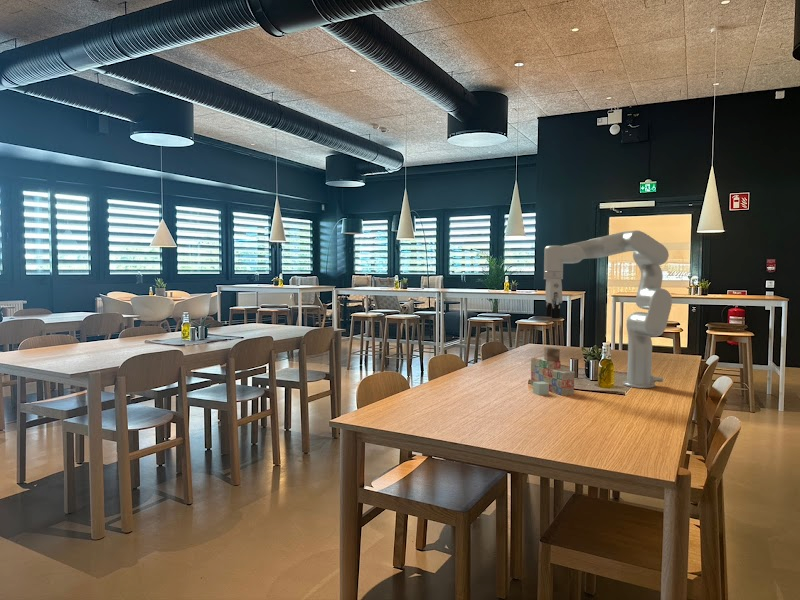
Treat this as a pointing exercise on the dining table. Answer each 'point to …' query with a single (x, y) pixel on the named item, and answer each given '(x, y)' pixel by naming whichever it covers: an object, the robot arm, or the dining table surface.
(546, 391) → the sage block
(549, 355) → the walnut cube
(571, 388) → the stack of blocks
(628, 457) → the dining table surface
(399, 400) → the dining table surface
